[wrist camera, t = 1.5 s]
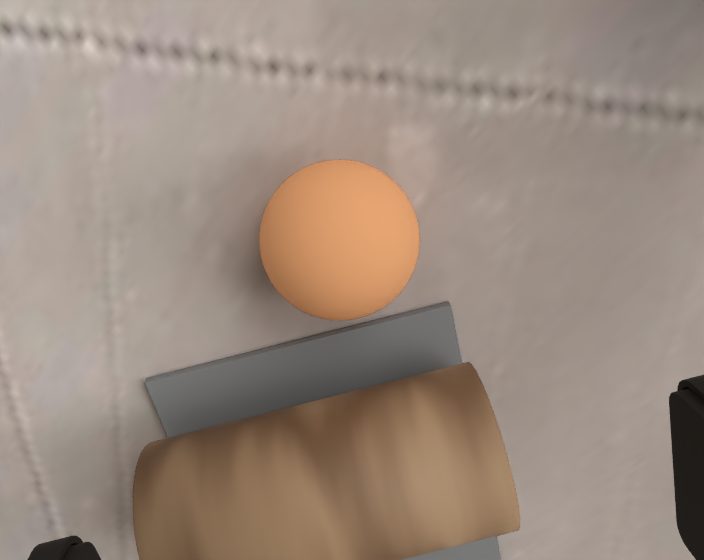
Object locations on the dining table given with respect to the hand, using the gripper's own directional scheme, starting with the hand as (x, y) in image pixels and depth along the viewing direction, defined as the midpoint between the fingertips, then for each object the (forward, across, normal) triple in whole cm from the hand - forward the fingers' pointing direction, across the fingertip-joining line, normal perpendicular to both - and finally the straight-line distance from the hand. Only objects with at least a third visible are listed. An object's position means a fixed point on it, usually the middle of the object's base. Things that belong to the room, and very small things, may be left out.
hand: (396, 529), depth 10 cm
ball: (+15, 0, 0) cm, 15 cm away
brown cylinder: (+18, +3, +10) cm, 21 cm away
